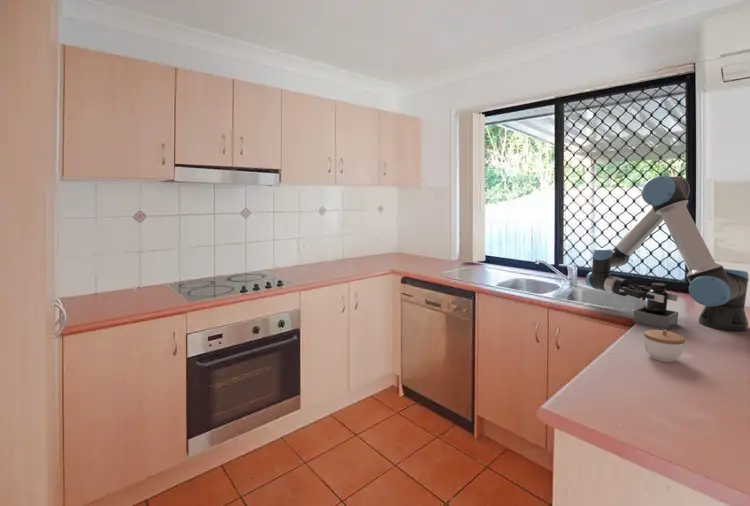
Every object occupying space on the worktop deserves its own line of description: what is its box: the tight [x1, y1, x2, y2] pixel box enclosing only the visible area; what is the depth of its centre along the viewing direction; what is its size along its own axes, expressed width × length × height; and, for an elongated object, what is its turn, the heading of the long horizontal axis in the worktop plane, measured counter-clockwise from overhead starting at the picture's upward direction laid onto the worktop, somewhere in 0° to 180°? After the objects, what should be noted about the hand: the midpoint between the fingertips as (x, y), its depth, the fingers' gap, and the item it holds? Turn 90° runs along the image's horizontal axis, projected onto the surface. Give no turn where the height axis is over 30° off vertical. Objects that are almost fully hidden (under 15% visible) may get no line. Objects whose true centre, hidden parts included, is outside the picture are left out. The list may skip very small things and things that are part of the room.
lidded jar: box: [643, 329, 686, 363], centre depth 130 cm, size 11×11×9 cm
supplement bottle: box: [645, 282, 669, 315], centre depth 165 cm, size 7×7×12 cm
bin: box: [632, 305, 679, 331], centre depth 166 cm, size 12×12×5 cm
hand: (669, 298), depth 160 cm, fingers closed on supplement bottle, 7 cm apart
